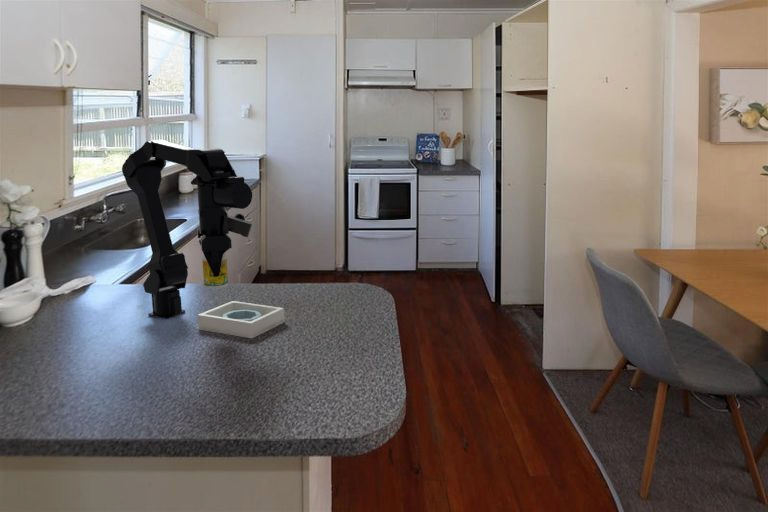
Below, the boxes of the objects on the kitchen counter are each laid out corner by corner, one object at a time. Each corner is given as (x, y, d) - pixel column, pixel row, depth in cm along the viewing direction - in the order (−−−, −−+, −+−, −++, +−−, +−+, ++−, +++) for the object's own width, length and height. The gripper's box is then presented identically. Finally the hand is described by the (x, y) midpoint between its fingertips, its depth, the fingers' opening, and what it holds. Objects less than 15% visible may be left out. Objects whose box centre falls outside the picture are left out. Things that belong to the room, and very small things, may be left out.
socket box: (198, 329, 152) (197, 314, 151) (233, 314, 163) (232, 300, 163) (252, 338, 146) (251, 323, 145) (284, 322, 157) (283, 308, 156)
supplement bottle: (223, 282, 154) (221, 242, 152) (231, 287, 149) (229, 246, 147) (201, 285, 151) (198, 244, 149) (208, 290, 147) (205, 248, 145)
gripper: (253, 209, 140) (256, 280, 143) (243, 199, 158) (246, 262, 161) (199, 211, 137) (204, 284, 140) (195, 201, 154) (199, 266, 157)
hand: (215, 273), depth 150 cm, fingers closed on supplement bottle, 5 cm apart
